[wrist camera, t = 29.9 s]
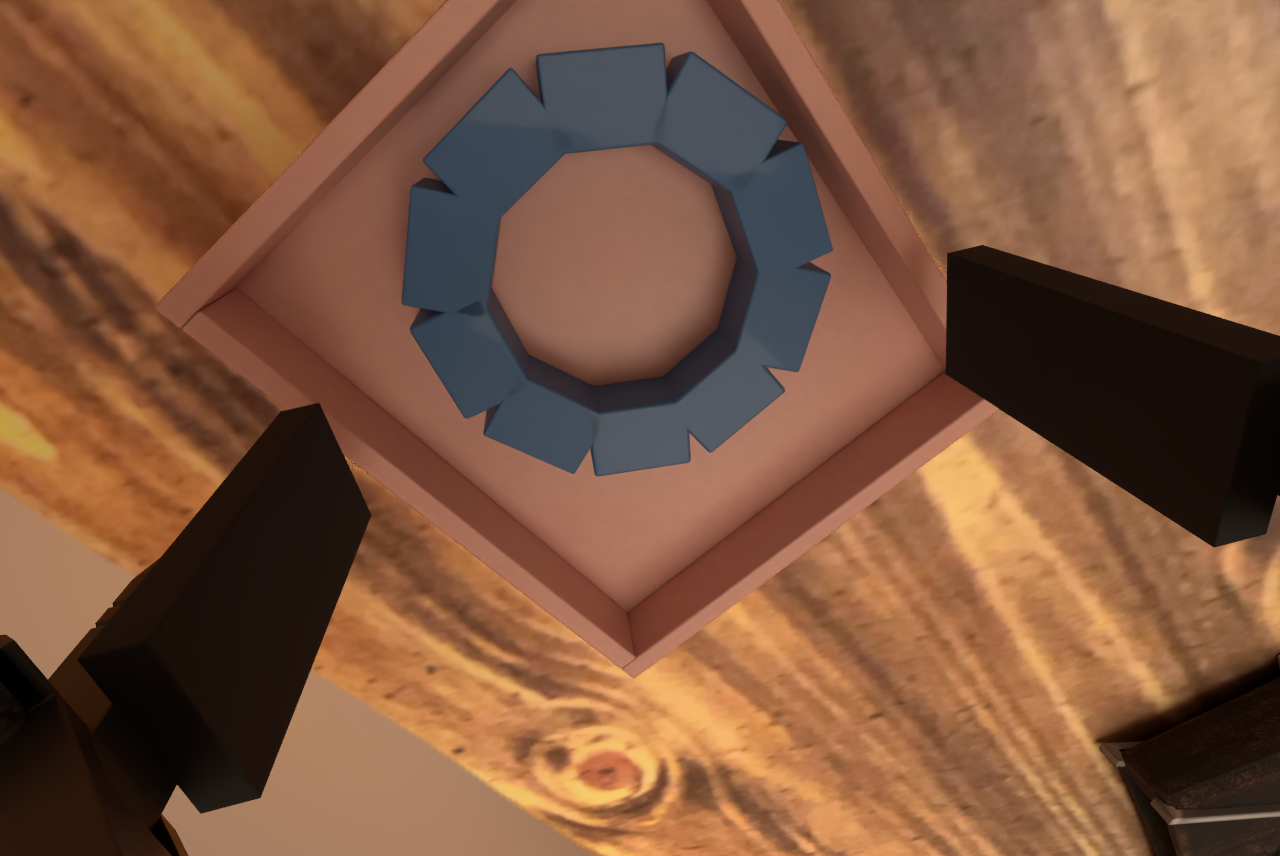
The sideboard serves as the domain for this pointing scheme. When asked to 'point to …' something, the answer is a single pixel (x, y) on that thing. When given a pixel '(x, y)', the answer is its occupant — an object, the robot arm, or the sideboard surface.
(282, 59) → the sideboard surface
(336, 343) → the tray
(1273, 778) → the book
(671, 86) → the ring
